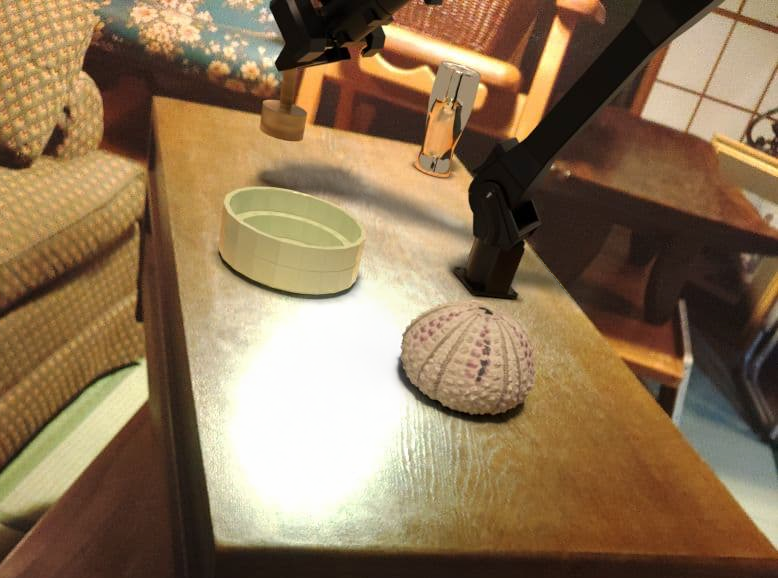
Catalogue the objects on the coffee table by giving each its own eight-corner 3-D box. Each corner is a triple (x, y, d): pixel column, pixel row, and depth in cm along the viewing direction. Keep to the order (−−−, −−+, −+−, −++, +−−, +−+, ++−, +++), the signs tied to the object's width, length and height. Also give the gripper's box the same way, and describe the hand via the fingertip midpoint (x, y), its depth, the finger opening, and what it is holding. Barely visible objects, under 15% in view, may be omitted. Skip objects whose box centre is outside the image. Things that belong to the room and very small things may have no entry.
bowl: (372, 304, 80) (385, 255, 77) (233, 293, 74) (240, 239, 71) (332, 243, 90) (342, 197, 87) (207, 228, 84) (212, 178, 81)
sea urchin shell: (548, 402, 74) (582, 330, 69) (472, 443, 65) (505, 363, 60) (447, 338, 79) (472, 266, 74) (364, 367, 70) (386, 287, 65)
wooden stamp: (310, 143, 95) (333, 11, 86) (271, 139, 92) (290, 2, 83) (290, 127, 98) (310, -3, 89) (252, 123, 95) (268, -11, 86)
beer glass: (449, 182, 121) (480, 79, 111) (408, 168, 121) (436, 64, 111) (454, 171, 126) (484, 72, 116) (415, 158, 126) (442, 58, 116)
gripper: (387, -86, 85) (292, -2, 95) (300, -106, 72) (199, -6, 81) (427, 17, 89) (331, 88, 98) (351, 16, 75) (248, 98, 85)
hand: (281, 67), depth 91 cm, fingers closed on wooden stamp
